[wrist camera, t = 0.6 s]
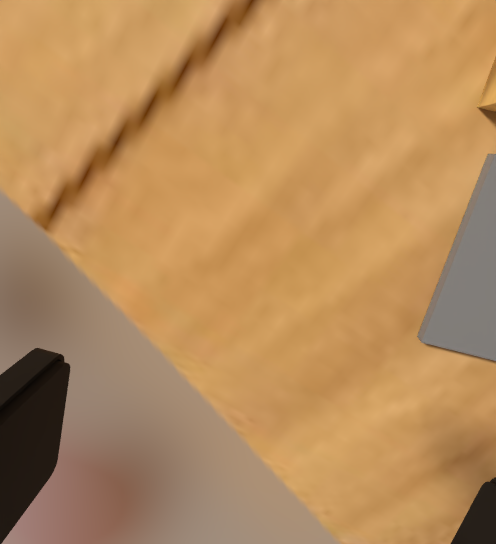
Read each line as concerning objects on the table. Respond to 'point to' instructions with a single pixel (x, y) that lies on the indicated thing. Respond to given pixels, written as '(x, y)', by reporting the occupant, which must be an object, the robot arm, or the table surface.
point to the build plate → (469, 279)
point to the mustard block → (489, 91)
